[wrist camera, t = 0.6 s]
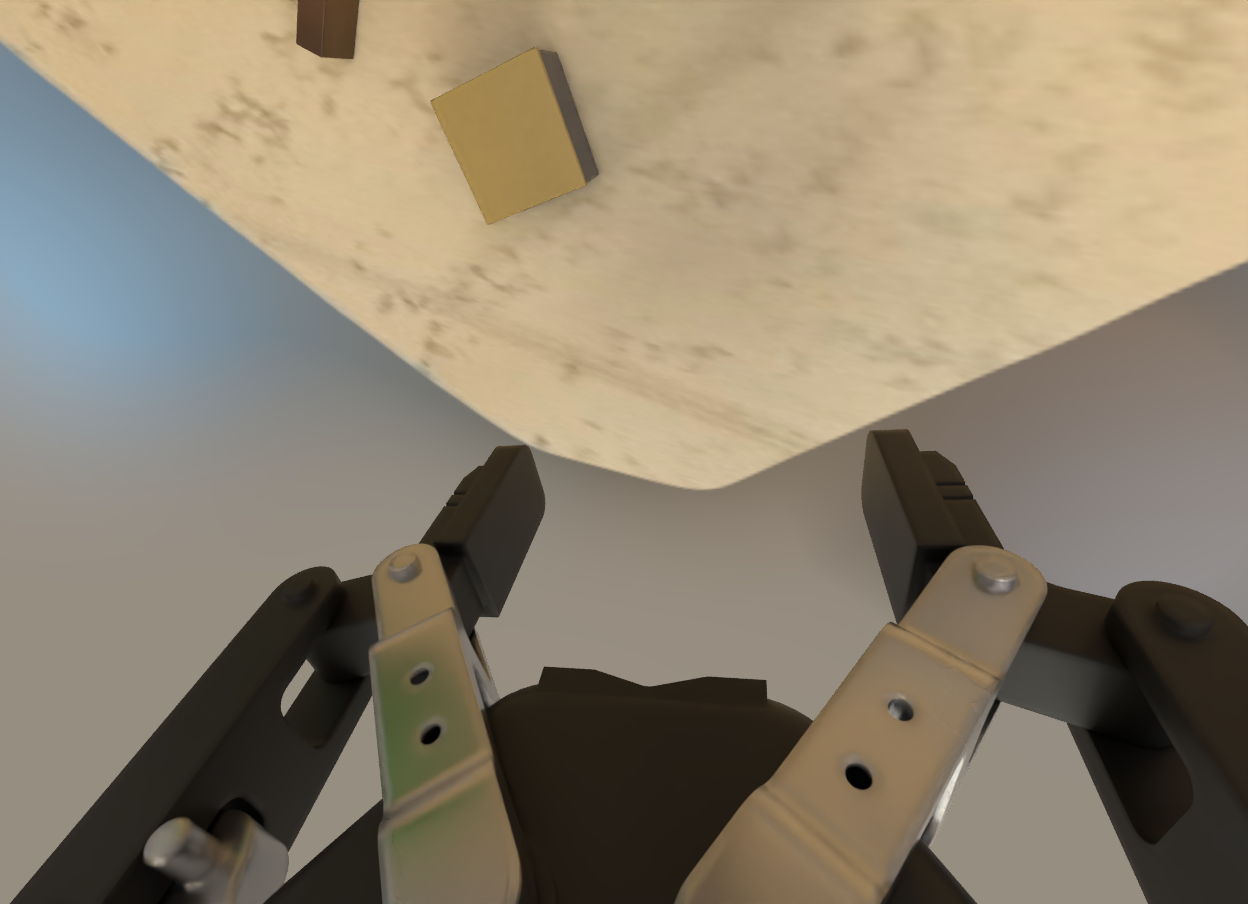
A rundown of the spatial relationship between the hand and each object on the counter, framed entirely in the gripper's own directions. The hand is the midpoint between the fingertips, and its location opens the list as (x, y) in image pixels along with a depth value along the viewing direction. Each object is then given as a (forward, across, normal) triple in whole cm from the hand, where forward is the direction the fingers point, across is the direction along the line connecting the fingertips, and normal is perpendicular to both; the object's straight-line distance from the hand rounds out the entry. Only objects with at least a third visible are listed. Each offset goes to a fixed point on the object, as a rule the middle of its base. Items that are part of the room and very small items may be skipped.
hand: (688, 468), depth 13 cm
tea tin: (+26, +11, -7) cm, 28 cm away
